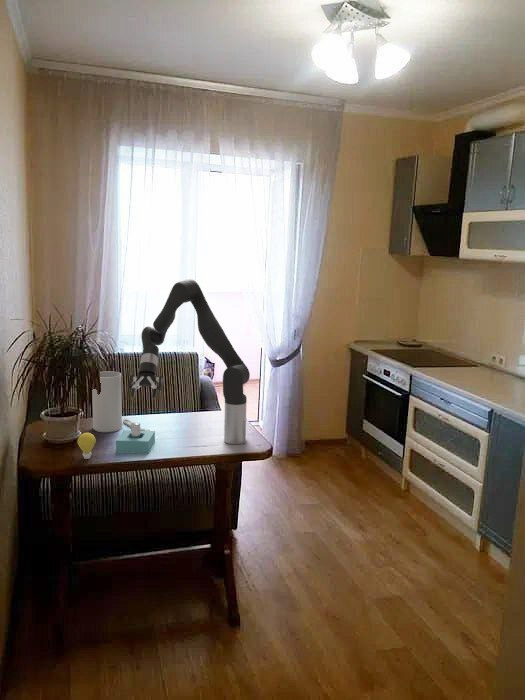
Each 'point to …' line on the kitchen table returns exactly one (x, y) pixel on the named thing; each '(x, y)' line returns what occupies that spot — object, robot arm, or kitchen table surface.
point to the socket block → (135, 442)
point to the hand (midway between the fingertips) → (143, 397)
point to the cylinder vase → (108, 403)
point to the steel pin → (135, 430)
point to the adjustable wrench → (131, 423)
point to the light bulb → (86, 444)
